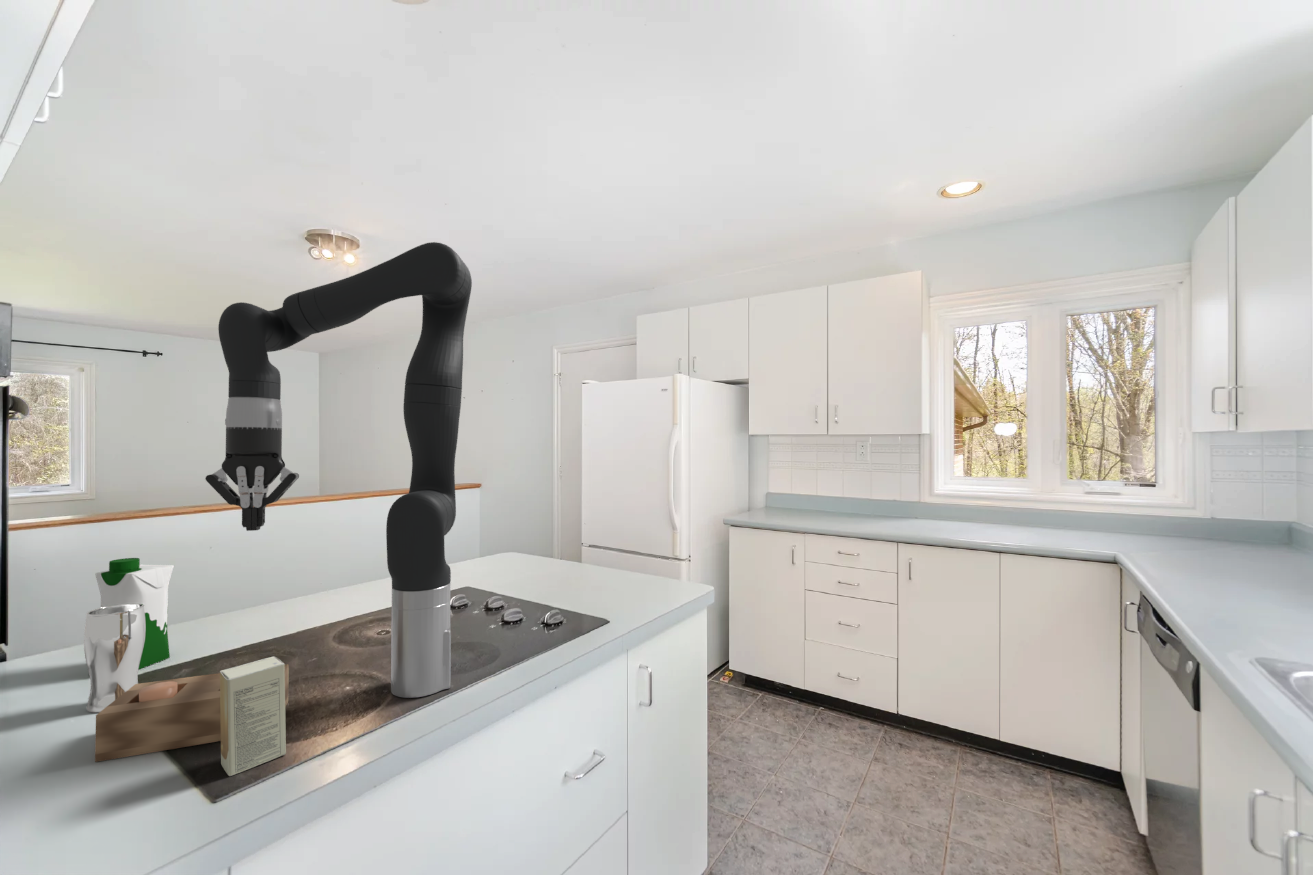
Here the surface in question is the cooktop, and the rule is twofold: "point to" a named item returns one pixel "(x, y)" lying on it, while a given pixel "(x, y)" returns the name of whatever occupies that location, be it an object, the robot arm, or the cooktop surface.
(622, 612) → the cooktop surface
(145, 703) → the walnut block
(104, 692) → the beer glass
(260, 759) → the skincare box
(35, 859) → the cooktop surface
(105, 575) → the milk carton
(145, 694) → the tan rounded oval piece
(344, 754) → the cooktop surface
